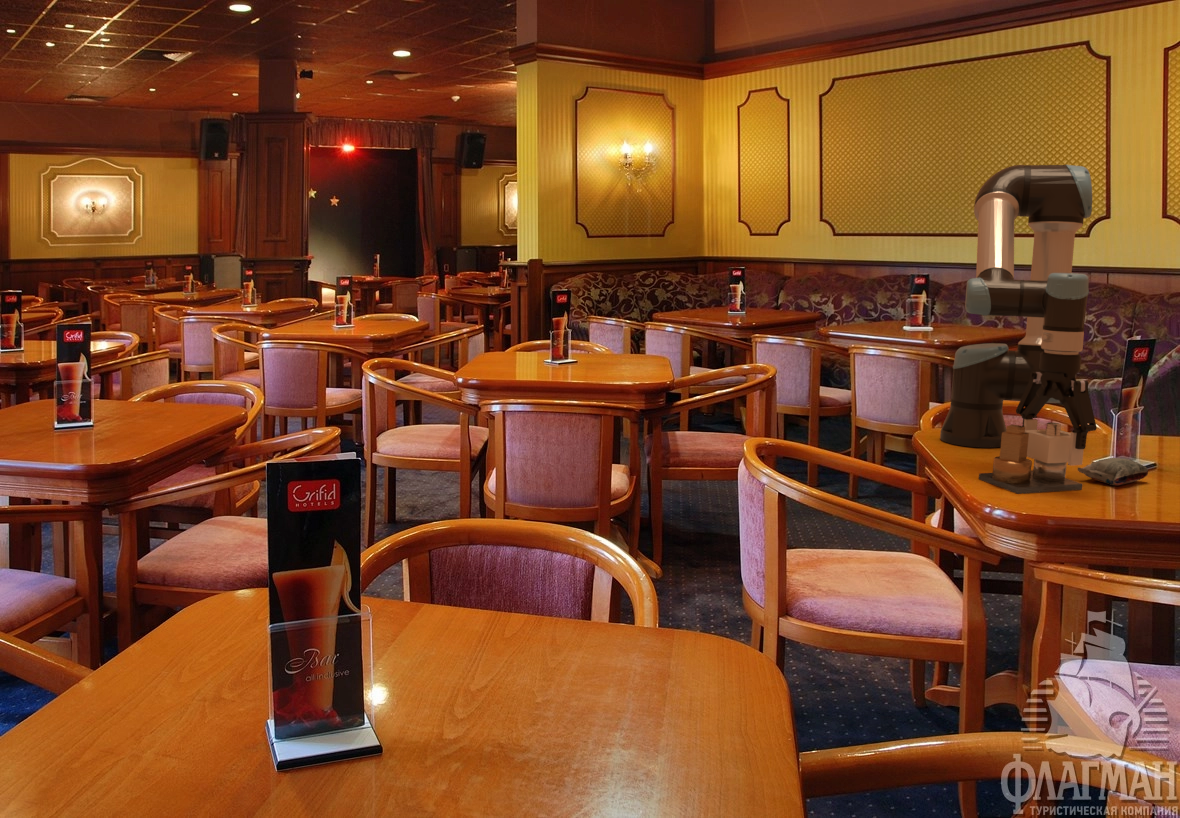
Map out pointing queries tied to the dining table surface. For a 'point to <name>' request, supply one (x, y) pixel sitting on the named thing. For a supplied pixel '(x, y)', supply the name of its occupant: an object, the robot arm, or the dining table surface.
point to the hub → (1013, 457)
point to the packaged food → (1115, 471)
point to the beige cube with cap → (1048, 446)
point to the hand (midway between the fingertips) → (1050, 457)
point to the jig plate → (1033, 484)
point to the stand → (1050, 469)
